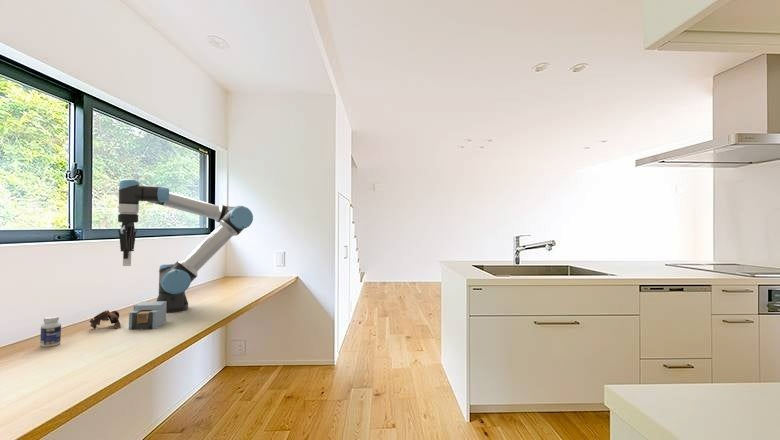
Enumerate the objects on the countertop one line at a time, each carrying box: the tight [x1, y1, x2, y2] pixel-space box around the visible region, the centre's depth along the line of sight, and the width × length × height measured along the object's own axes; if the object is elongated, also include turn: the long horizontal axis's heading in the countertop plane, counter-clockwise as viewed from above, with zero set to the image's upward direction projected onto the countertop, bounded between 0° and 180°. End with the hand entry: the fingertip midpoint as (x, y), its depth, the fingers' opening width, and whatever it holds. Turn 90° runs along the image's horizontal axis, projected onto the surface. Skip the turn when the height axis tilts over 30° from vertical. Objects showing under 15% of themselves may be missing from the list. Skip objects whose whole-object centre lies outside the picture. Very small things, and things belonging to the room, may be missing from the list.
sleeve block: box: [128, 301, 167, 331], centre depth 161 cm, size 12×10×9 cm
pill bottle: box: [39, 315, 62, 348], centre depth 134 cm, size 5×5×10 cm
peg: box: [137, 310, 152, 323], centre depth 161 cm, size 12×4×4 cm, turn 13°
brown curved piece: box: [89, 309, 121, 329], centre depth 157 cm, size 12×10×8 cm
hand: (126, 265), depth 169 cm, fingers closed
